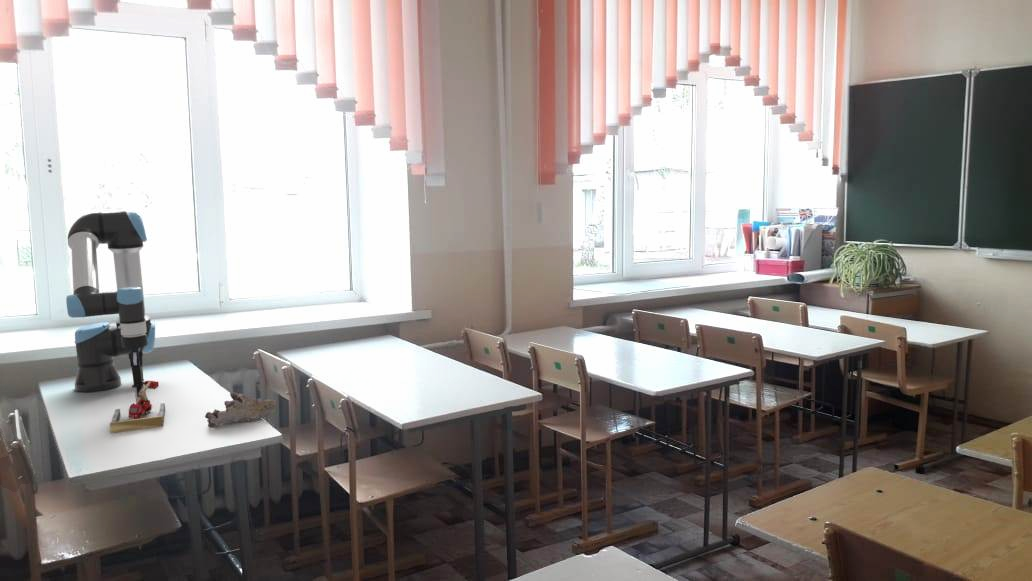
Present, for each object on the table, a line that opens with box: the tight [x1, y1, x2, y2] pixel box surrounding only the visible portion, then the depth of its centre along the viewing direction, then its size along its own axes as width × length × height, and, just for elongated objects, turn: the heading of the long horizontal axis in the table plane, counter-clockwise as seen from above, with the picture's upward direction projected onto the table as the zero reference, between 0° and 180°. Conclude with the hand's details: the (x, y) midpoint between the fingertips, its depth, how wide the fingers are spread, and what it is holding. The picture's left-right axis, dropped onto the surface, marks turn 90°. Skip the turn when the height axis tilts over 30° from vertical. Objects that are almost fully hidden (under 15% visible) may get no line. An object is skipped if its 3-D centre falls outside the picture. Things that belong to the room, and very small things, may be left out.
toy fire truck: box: [128, 380, 159, 420], centre depth 250 cm, size 3×14×10 cm, turn 1°
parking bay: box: [109, 402, 166, 434], centre depth 243 cm, size 18×14×3 cm
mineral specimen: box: [204, 391, 277, 429], centre depth 240 cm, size 20×10×10 cm
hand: (141, 405), depth 254 cm, fingers closed
